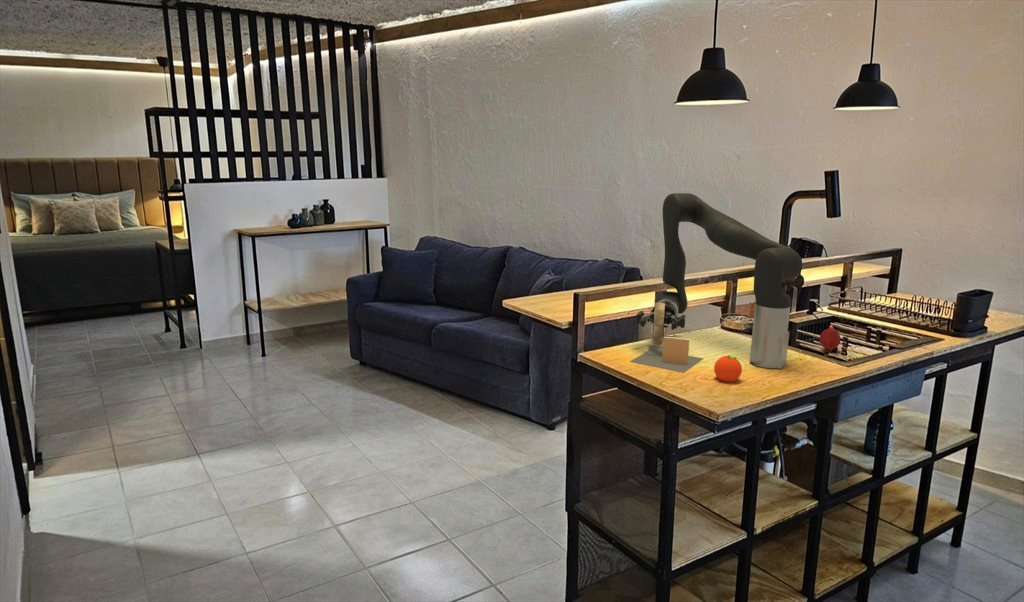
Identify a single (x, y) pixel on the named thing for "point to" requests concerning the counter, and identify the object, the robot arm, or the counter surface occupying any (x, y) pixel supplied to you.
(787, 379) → the counter surface
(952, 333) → the counter surface
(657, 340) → the pusher
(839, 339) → the onion
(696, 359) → the mat
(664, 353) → the tile
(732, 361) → the clementine
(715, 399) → the counter surface
